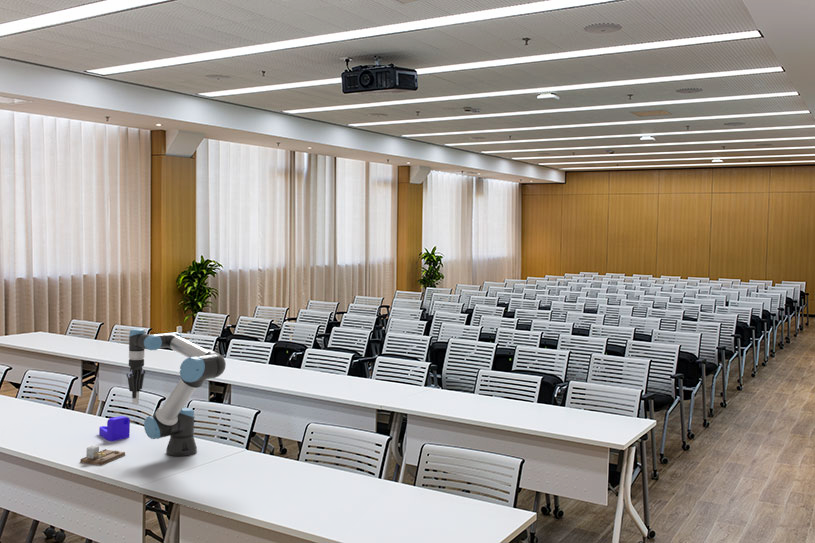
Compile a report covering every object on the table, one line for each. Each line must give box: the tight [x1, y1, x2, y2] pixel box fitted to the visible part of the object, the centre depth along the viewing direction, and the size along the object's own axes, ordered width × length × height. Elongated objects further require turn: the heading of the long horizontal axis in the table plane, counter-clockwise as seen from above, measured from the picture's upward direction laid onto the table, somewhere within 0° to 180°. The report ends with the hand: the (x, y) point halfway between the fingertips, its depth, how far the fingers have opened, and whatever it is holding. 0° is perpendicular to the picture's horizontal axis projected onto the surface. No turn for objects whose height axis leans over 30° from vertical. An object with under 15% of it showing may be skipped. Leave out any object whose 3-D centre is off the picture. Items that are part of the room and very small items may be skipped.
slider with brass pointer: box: [85, 445, 106, 459], centre depth 353 cm, size 9×4×5 cm, turn 75°
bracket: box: [98, 415, 131, 442], centre depth 399 cm, size 18×11×12 cm, turn 57°
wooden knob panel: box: [79, 448, 126, 466], centre depth 358 cm, size 12×18×3 cm, turn 165°
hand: (135, 403), depth 373 cm, fingers closed
